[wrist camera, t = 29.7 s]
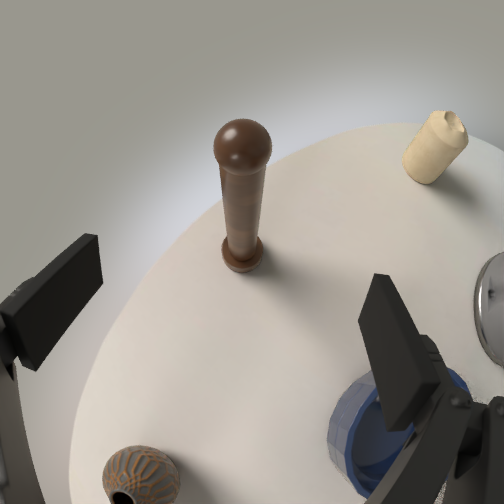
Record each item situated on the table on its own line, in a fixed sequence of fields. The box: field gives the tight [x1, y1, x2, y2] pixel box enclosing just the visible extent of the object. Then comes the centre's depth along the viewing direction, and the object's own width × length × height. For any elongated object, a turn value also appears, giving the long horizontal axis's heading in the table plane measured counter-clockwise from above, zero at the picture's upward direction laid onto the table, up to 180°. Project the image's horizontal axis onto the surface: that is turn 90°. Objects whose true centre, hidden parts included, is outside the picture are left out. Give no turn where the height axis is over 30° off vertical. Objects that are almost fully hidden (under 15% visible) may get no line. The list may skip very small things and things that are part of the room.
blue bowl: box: [327, 368, 472, 499], centre depth 24 cm, size 14×14×6 cm
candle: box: [402, 111, 468, 184], centre depth 32 cm, size 6×6×10 cm
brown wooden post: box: [214, 119, 272, 273], centre depth 24 cm, size 4×4×19 cm
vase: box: [102, 446, 180, 504], centre depth 21 cm, size 7×7×9 cm
